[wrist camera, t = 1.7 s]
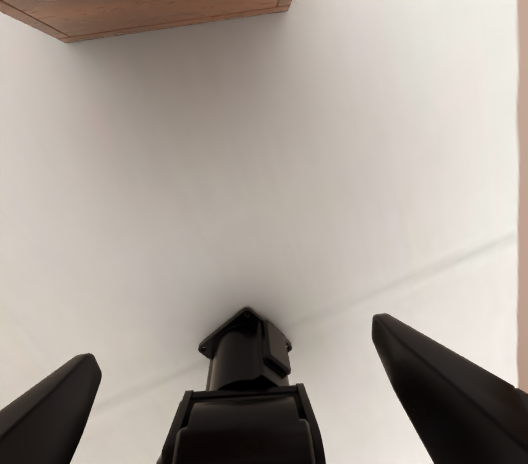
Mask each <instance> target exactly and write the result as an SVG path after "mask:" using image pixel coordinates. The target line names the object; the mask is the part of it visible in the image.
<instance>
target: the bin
mask: <svg viewBox="0 0 528 464" xmlns="http://www.w3.org/2000/svg"><path fill="white" fill-rule="evenodd" d="M291 1H292V0H0V12H2V13H4V14H6V15H8V16H11V17H13V18H15V19H17V20H19V21H21V22H23V23H25V24H27V25H29V26H31V27H34V28H36V29H38V30H40V31H42V32H44V33H46V34H48V35H50V36H52V37H54V38H57V39H58V40H60V41H63V42H65V43H68V42H75V41H81V40H88V39H95V38H102V37H109V36H116V35H123V34H130V33H137V32H143V31H150V30H157V29H164V28H171V27H178V26H185V25H192V24H199V23H205V22H212V21H219V20H226V19H233V18H240V17H247V16H254V15H261V14H267V13H274V12H281V11H288V9H289V7H290V4H291Z"/></svg>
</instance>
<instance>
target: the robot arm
mask: <svg viewBox="0 0 528 464" xmlns="http://www.w3.org/2000/svg"><path fill="white" fill-rule="evenodd" d="M245 313H249V314H245ZM372 340H373V343H374V345H375V347H376V350H377V352H378V354H379V357H380V359H381V361H382V364H383V366H384V368H385V371H386V373H387V376H388V378H389V380H390V382H391V385H392V387H393V389H394V391H395V393H396V395H397V397H398V399H399V401H400V402H401V404H402V406H403V408H404V410H405V411H406V413H407V415H408V417H409V419H410V421H411V422H412V424H413V426H414V428H415V430H416V432H417V433H418V435H419V437H420V439H421V441H422V442H423V444H424V446H425V448H426V450H427V452H428V453H429V455H430V457H431V459H432V461H433V462H434V464H528V394H527V393H525V392H524V391H522V390H520V389H518V388H515V387H514V386H513V385H511V384H509V383H508V382H506V381H504V380H502V379H501V378H499V377H497V376H495V375H494V374H492V373H490V372H488V371H487V370H485V369H483V368H481V367H480V366H478V365H476V364H474V363H473V362H471V361H469V360H467V359H466V358H464V357H462V356H460V355H459V354H457V353H455V352H453V351H452V350H450V349H448V348H446V347H445V346H443V345H441V344H439V343H438V342H436V341H434V340H432V339H431V338H429V337H427V336H425V335H424V334H422V333H420V332H418V331H417V330H415V329H413V328H411V327H410V326H408V325H406V324H404V323H403V322H401V321H399V320H397V319H396V318H394V317H392V316H391V315H389V314H386V313H383V314H376V315H374V316H373V320H372ZM286 346H288V347H286ZM202 347H205V348H202ZM291 349H292V346H291V343H290V342H289V341H288V340H287V339H286V338H285V336H284V334H282V333H281V332H280V331H279V330H278V329H277V328H275V327H274V326H273V325H272V324H271V323H270V322H268V321H267V320H263V319H262V318H261V317H260V316H259V315H258V314H256V313H255V312H254V311H253V310H252V309H250V308H244V309H242V310H241V311H240V312H239V313H237V314H236V315H235V316H234V317H232V318H231V319H230V320H229V321H227V322H226V323H225V324H224V325H222V326H221V327H220V328H219V329H217V330H216V331H215V332H214V333H212V334H211V335H210V336H209V337H207V338H206V339H205V340H204V341H202V342H201V343H200V344H199V348H198V350H199V352H200V353H202V354H203V355H205V356H206V357H207V358H209V359H210V365H209V371H208V378H207V385H206V391H198V392H194V391H193V390H191V391H185V394H184V396H183V399H182V401H181V402H180V404H179V407H178V409H177V412H176V415H175V417H174V420H173V422H172V425H171V428H170V430H169V433H168V436H167V438H166V441H165V444H164V446H163V450H162V454H161V455H160V457H159V459H158V461H157V463H156V464H326V461H325V454H324V448H323V443H322V438H321V434H320V430H319V427H318V424H317V421H316V418H315V415H314V412H313V410H312V407H311V404H310V401H309V398H308V396H307V393H306V390H305V387H304V384H303V383H300V384H296V385H291V386H289V382H288V375H289V374H291V368H290V362H289V357H288V352H289V351H291ZM101 377H102V374H101V370H100V368H99V366H98V363H97V361H96V359H95V357H94V355H93V354H90V353H88V354H80V355H77V356H75V357H74V358H72V359H71V360H69V361H68V362H67V363H65V364H64V365H63V366H61V367H60V368H58V369H57V370H56V371H54V372H53V373H52V374H50V375H49V376H47V377H46V378H45V379H43V380H42V381H41V382H39V383H38V384H36V385H35V386H34V387H32V388H31V389H30V390H28V391H27V392H25V393H24V394H23V395H21V396H20V397H19V398H17V399H16V400H14V401H13V402H12V403H10V404H9V405H8V406H6V407H5V408H3V409H2V410H1V411H0V464H70V462H71V460H72V457H73V455H74V453H75V450H76V448H77V446H78V444H79V441H80V439H81V436H82V434H83V431H84V428H85V426H86V423H87V420H88V417H89V414H90V411H91V408H92V405H93V402H94V399H95V396H96V393H97V390H98V387H99V384H100V382H101Z"/></svg>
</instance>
